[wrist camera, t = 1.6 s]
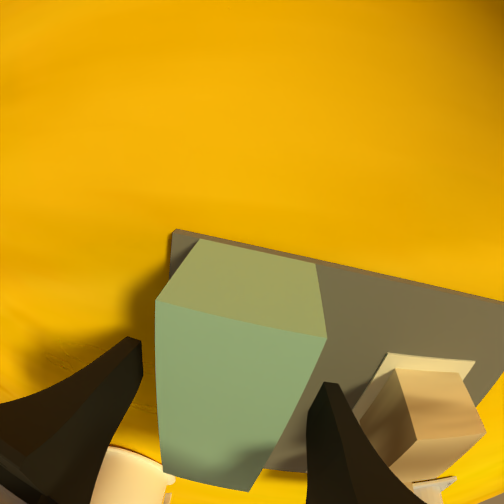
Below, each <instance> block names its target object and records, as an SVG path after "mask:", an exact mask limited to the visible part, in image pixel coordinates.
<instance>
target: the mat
mask: <svg viewBox="0 0 504 504" xmlns="http://www.w3.org/2000/svg"><path fill="white" fill-rule="evenodd" d="M199 239H205V240H209V241H214V242H218V243H223V244H228V245H232V246H237V247H241V248H246V249H250V250H255V251H260V252H264V253H269V254H273V255H278V256H282V257H287V258H292V259H296V260H301V261H305V262H310V263H314V264H315V265H316V271H317V277H318V282H319V288H320V294H321V300H322V307H323V313H324V319H325V326H326V333H327V340H326V342H325V345H324V347H323V349H322V352H321V354H320V356H319V358H318V361H317V363H316V365H315V367H314V370H313V372H312V374H311V376H310V378H309V380H308V383H307V385H306V387H305V389H304V391H303V393H302V395H301V397H300V399H299V401H298V403H297V405H296V407H295V409H294V411H293V413H292V415H291V417H290V419H289V421H288V423H287V425H286V427H285V429H284V431H283V433H282V435H281V437H280V438H279V440H278V442H277V444H276V446H275V448H274V449H273V451H272V453H271V455H270V457H269V458H268V460H267V462H266V464H265V465H264V467H263V468H266V469H273V470H281V471H291V472H301V473H307V452H306V424H307V413H308V410H309V408H310V407H311V405H312V403H313V401H314V399H315V397H316V395H317V393H318V392H319V390H320V388H321V386H322V384H323V382H331V383H338V384H339V385H340V387H341V389H342V391H343V393H344V395H345V397H346V400H347V402H348V404H349V406H350V407H351V409H352V411H353V413H354V415H355V417H356V419H357V421H358V422H359V424H360V419H361V418H362V416H363V415H364V414H365V412H366V411H367V410H368V408H369V407H370V405H371V404H372V402H373V401H374V400H375V398H376V397H377V395H378V394H379V392H380V391H381V389H382V388H383V386H384V385H385V383H386V382H387V380H388V378H389V377H390V375H391V374H392V372H393V370H394V369H395V368H399V369H410V370H423V371H437V372H456V373H459V375H460V377H461V379H462V381H463V383H464V385H465V387H466V389H467V391H468V393H469V395H470V397H471V399H472V401H473V403H474V405H475V407H476V406H477V405H478V404H479V403H480V402H481V400H482V399H483V398H484V397H485V395H486V394H487V393H488V392H489V390H490V389H491V388H492V386H493V385H494V384H495V382H496V381H497V380H498V378H499V377H500V376H501V374H502V373H503V371H504V302H501V301H497V300H493V299H489V298H484V297H480V296H476V295H471V294H467V293H463V292H459V291H454V290H450V289H446V288H441V287H437V286H432V285H428V284H424V283H419V282H415V281H411V280H406V279H402V278H397V277H393V276H389V275H384V274H380V273H375V272H371V271H366V270H362V269H358V268H353V267H349V266H344V265H340V264H335V263H331V262H326V261H322V260H317V259H313V258H308V257H304V256H299V255H295V254H290V253H286V252H281V251H276V250H272V249H267V248H263V247H258V246H254V245H249V244H244V243H240V242H235V241H231V240H226V239H221V238H217V237H212V236H208V235H203V234H198V233H194V232H189V231H184V230H180V229H176V230H175V231H174V232H173V235H172V246H171V259H170V272H169V280H170V279H171V277H172V276H173V275H174V273H175V272H176V270H177V269H178V268H179V266H180V265H181V264H182V262H183V261H184V259H185V258H186V257H187V255H188V254H189V253H190V251H191V250H192V249H193V247H194V246H195V245H196V243H197V242H198V241H199Z"/></svg>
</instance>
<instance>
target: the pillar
mask: <svg viewBox="0 0 504 504" xmlns="http://www.w3.org/2000/svg"><path fill="white" fill-rule="evenodd" d="M360 426H361V428H362V430H363V431H364V433H365V435H366V436H367V438H368V440H369V441H370V443H371V444H372V446H373V447H374V449H375V450H376V452H377V453H378V455H379V456H380V457H381V459H382V460H383V461H384V462H385V464H386V465H387V466H388V467H389V469H390V470H391V471H392V472H393V473H394V474H395V475H396V476H397V477H398V478H399V479H400V481H401V482H402V483H406V482H414V481H422V480H429V479H435V478H437V477H438V476H439V475H441V474H442V473H443V472H444V471H445V470H447V469H448V468H449V467H450V466H451V465H453V464H454V463H455V462H456V461H457V460H458V459H459V458H461V457H462V456H463V455H464V454H465V453H466V452H467V451H468V450H469V449H470V448H471V447H472V446H474V445H475V444H476V443H477V442H478V441H479V440H480V439H481V438H482V437H483V436H484V435H485V434H486V430H485V428H484V425H483V423H482V421H481V419H480V416H479V414H478V412H477V410H476V407H475V405H474V403H473V401H472V399H471V397H470V395H469V393H468V391H467V389H466V387H465V385H464V383H463V381H462V379H461V377H460V375H459V373H456V372H437V371H423V370H410V369H399V368H395V369H394V370H393V372H392V374H391V375H390V377H389V378H388V380H387V382H386V383H385V385H384V386H383V388H382V389H381V391H380V392H379V394H378V395H377V397H376V398H375V400H374V401H373V402H372V404H371V405H370V407H369V408H368V410H367V411H366V412H365V414H364V415H363V416H362V418H361V419H360Z"/></svg>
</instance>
